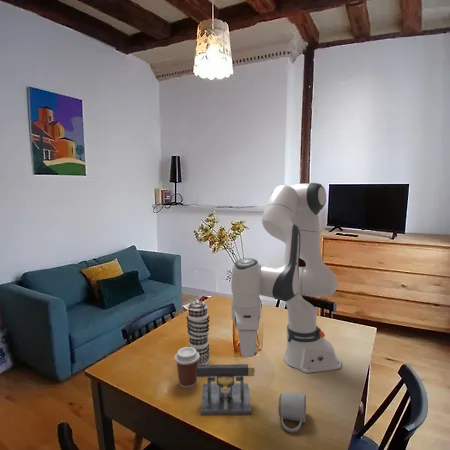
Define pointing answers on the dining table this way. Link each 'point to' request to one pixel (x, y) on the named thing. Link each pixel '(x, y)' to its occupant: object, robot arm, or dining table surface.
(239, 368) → the grey lintel crossbar
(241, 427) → the dining table surface
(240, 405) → the post base
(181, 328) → the dining table surface
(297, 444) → the dining table surface
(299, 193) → the robot arm
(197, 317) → the grey ridged column
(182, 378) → the coffee cup
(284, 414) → the ceramic mug
